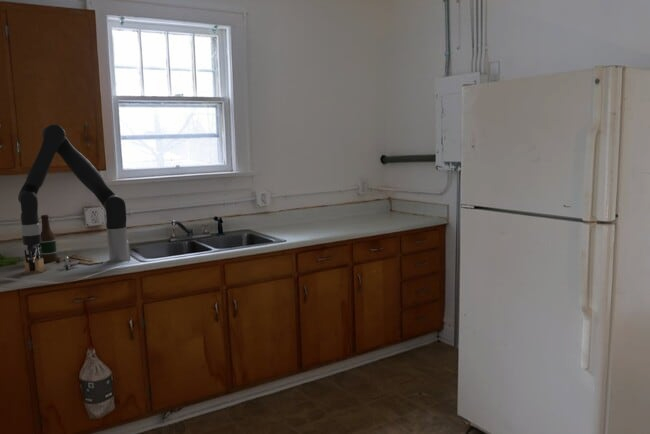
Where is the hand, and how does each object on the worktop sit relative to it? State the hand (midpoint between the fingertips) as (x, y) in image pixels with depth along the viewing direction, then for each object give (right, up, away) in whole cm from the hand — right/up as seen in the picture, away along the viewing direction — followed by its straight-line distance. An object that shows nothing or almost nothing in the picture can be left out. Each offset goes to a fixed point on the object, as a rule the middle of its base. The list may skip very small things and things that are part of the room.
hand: (35, 269), depth 248 cm
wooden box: (0, -2, 0) cm, 2 cm away
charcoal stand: (+13, -1, +4) cm, 14 cm away
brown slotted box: (0, 0, 0) cm, 0 cm away
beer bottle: (-7, +1, +26) cm, 27 cm away
